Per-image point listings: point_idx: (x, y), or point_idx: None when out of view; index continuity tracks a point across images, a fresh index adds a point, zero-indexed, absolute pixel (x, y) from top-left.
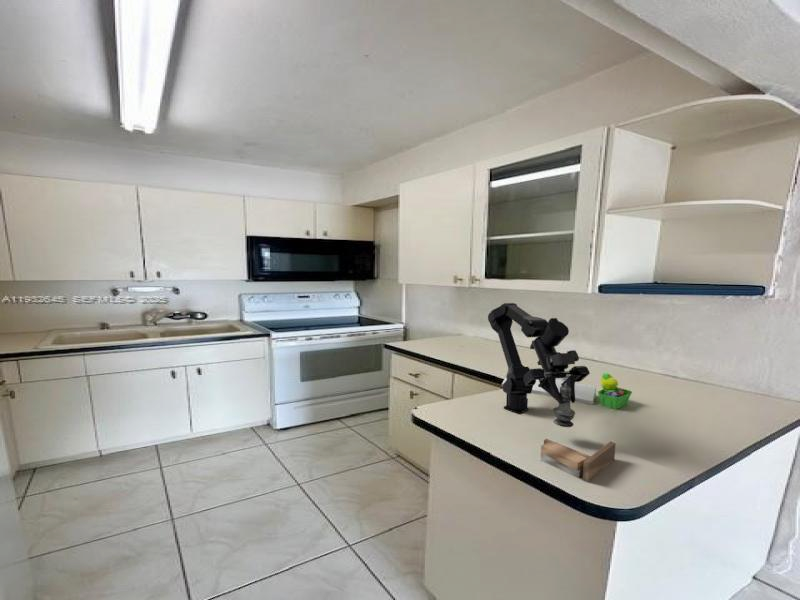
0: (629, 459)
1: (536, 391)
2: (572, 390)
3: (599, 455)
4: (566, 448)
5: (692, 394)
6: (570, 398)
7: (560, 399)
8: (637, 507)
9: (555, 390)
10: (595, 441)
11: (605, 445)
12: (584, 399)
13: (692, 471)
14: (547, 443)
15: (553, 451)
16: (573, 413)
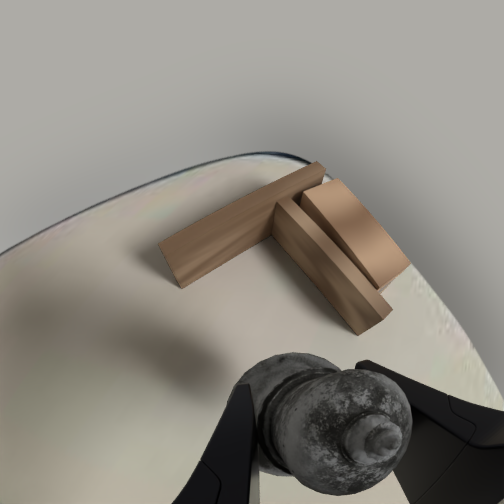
0: (113, 299)
1: None
2: (237, 451)
3: (266, 185)
4: (338, 252)
5: None
6: (274, 406)
7: (382, 367)
8: (242, 155)
9: (450, 397)
10: (135, 415)
11: (205, 231)
12: None
13: (43, 240)
14: (392, 274)
15: (384, 230)
16: (253, 376)
